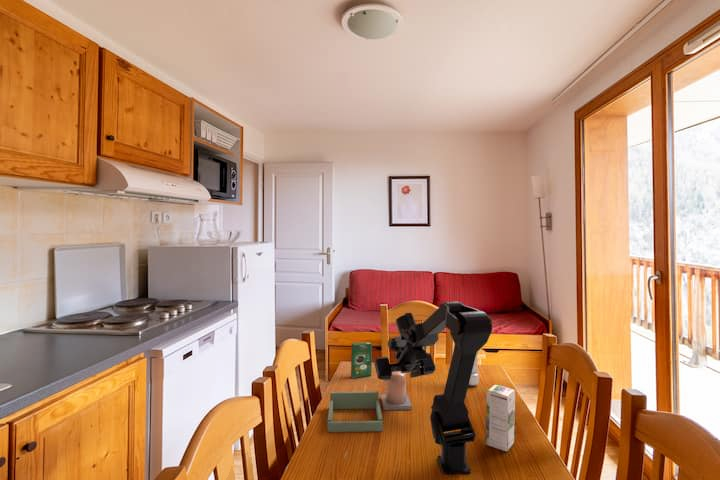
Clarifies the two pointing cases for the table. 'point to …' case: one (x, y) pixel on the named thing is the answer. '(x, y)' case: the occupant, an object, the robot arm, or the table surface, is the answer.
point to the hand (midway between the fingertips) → (397, 378)
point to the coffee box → (361, 359)
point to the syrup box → (500, 417)
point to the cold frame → (354, 402)
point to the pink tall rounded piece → (396, 388)
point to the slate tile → (389, 406)
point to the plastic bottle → (474, 374)
